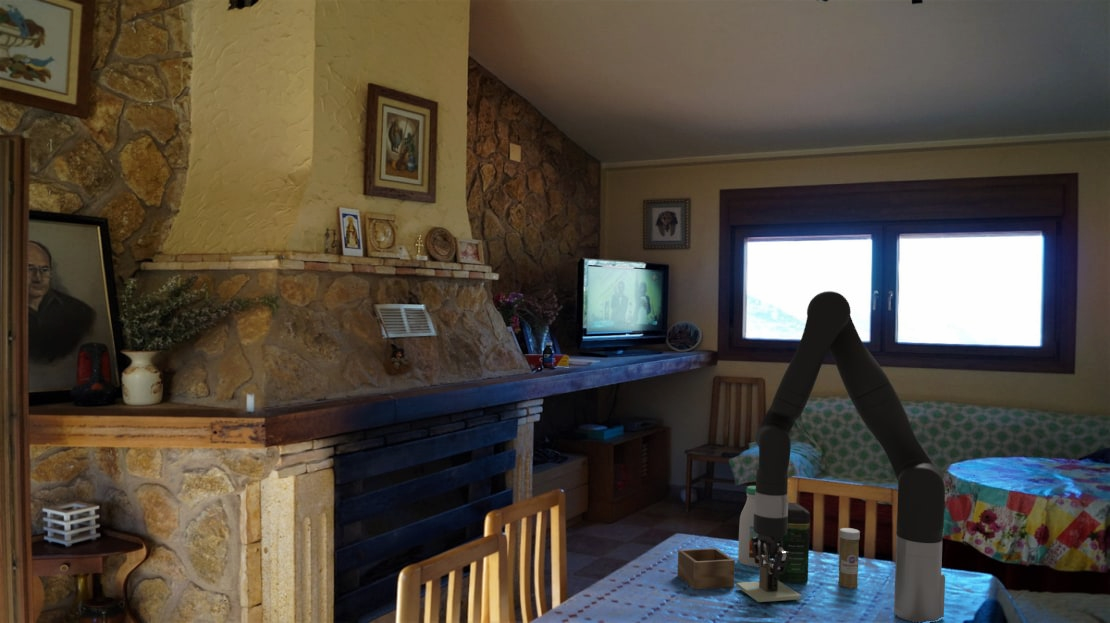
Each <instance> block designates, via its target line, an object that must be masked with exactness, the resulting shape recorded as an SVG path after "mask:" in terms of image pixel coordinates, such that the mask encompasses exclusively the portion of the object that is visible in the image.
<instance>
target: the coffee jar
mask: <svg viewBox="0 0 1110 623" xmlns="http://www.w3.org/2000/svg"><path fill="white" fill-rule="evenodd" d="M810 528H811V513H810V512H809V510H808V509H807V508H805V507H804V506H801V504H799V503H798V502H789V501H788V527H787V534H786V535H784V536H783V537H782V543H783V550H784V551H785V552H787V551H788V552H789V559H788V562H787V565H786V569H785V572H784V574H779V575H778V581H780V582H781V583H783V584H784V583H785V584H794V585H796V584H797V585H804V584H808V581H809V554H810V552H809V550H810V532H811V530H810ZM772 560H775V558H774V559H772ZM772 565H774V564H772Z"/></svg>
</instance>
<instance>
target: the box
mask: <svg viewBox="0 0 1110 623" xmlns="http://www.w3.org/2000/svg"><path fill="white" fill-rule="evenodd" d="M735 561H736V560H735V559H734V558H732V557H731V556H729V555H728V554H726V553H724V552H723V551H722V550H720V549H718V548H717V547H714V548H713V547H712V548H708V547H707V548H695V549H694V548H692V549H691V548H690V549H678V550H677V577H678V578H680V580H682V581H684V583H686V584H687V585H688V586H689V587H690V588H692V589H693V590H707V589H721V588H723V589H724V588H735V572H736V571H735V569H736V568H735V566H736V565H735V564H736V562H735Z"/></svg>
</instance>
